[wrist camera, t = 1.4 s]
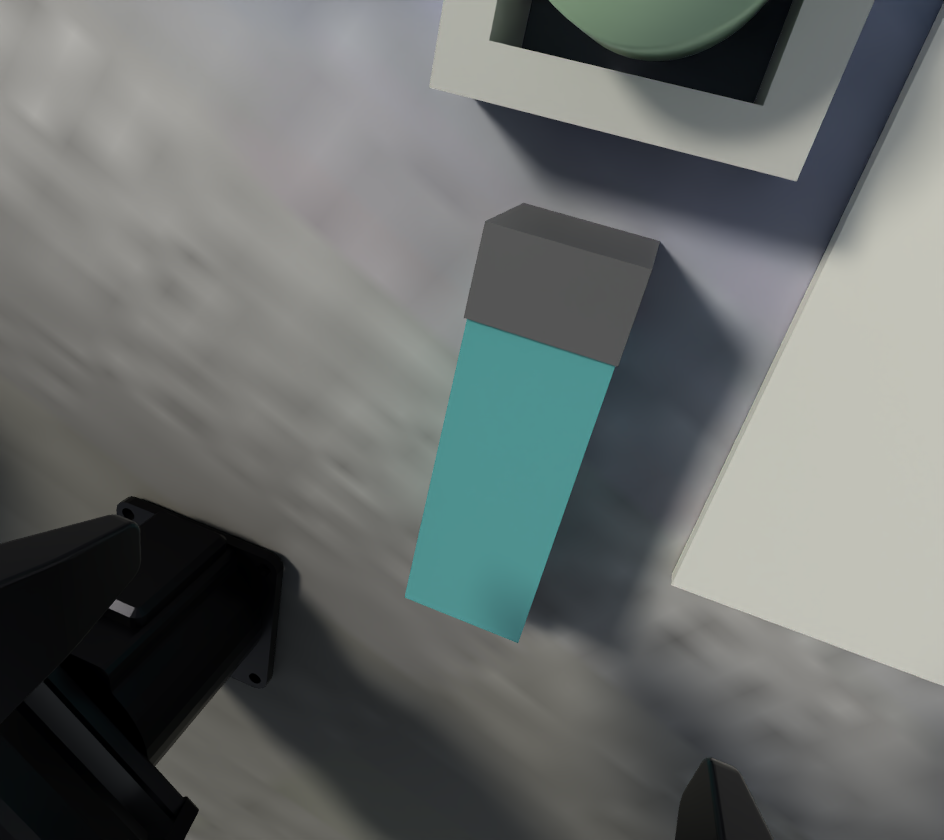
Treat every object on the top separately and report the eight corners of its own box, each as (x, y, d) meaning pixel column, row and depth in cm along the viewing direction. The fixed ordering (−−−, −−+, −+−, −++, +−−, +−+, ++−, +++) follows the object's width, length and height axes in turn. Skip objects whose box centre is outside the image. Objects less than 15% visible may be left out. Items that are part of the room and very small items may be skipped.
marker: (536, 591, 20) (510, 670, 17) (437, 553, 21) (396, 623, 18) (659, 240, 15) (652, 270, 12) (523, 203, 15) (485, 221, 13)
